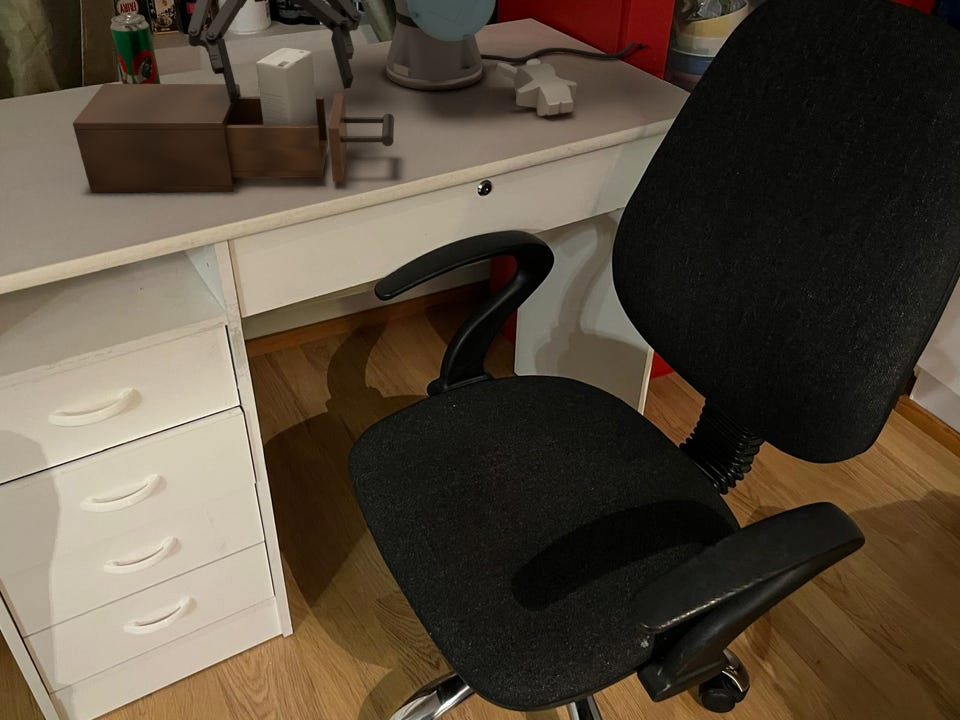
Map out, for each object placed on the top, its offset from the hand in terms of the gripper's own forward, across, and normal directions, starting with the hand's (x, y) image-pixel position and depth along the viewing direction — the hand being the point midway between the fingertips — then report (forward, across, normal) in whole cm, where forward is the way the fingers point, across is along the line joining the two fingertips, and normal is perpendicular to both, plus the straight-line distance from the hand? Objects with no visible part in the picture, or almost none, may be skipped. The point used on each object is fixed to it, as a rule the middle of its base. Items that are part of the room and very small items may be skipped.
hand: (292, 90), depth 101 cm
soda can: (-14, +16, -29) cm, 36 cm away
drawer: (+6, -1, -8) cm, 10 cm away
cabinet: (+3, +15, -12) cm, 19 cm away
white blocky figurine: (-1, -39, -17) cm, 42 cm away
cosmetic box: (+5, 0, -8) cm, 9 cm away
